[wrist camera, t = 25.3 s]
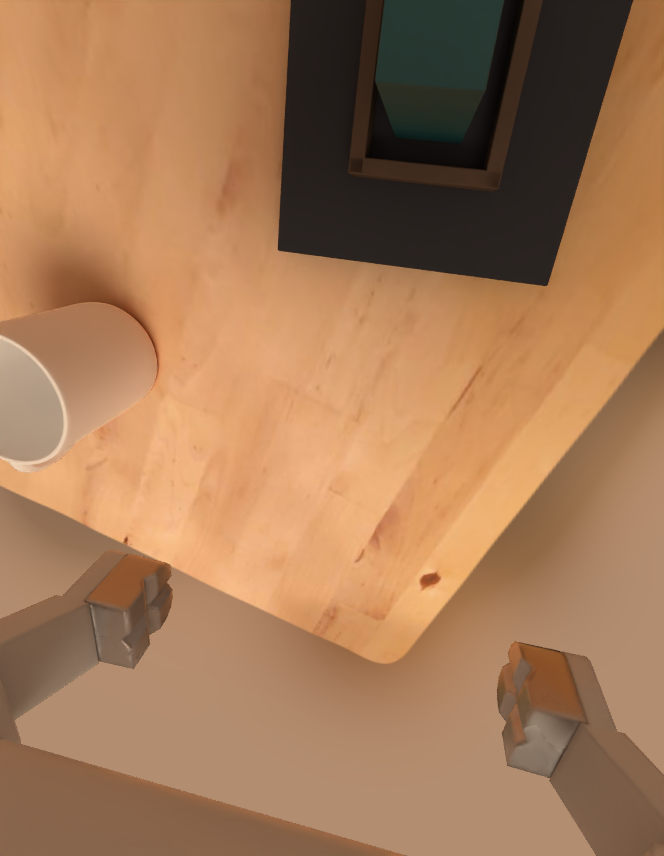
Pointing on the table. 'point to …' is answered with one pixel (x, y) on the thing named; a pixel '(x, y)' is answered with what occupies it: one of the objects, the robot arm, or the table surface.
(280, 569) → the table surface
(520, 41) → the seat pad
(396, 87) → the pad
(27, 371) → the mug
